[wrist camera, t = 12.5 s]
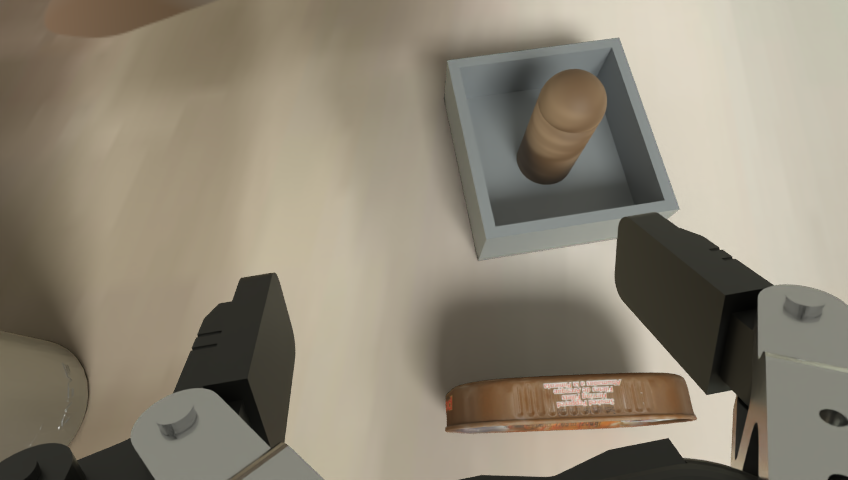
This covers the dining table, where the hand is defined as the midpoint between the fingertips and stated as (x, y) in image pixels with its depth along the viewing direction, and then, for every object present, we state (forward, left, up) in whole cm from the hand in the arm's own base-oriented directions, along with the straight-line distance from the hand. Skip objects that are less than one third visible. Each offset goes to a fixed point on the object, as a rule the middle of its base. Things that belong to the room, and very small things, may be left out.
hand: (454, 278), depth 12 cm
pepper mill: (+12, +15, -25) cm, 32 cm away
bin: (+12, +15, -26) cm, 32 cm away
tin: (+8, -4, -26) cm, 28 cm away
